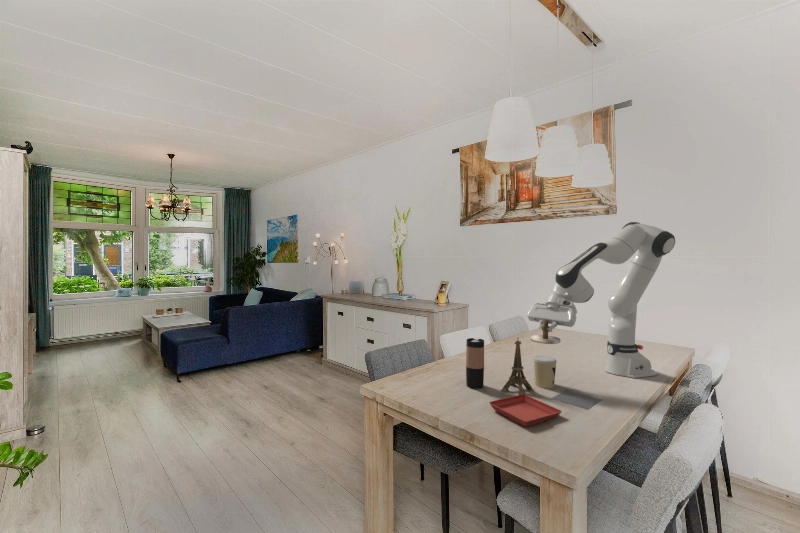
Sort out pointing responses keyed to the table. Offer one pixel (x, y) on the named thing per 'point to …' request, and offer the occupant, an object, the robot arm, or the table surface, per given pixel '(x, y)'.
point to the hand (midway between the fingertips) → (544, 330)
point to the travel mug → (474, 363)
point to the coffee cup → (544, 371)
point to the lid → (545, 336)
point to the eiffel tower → (516, 370)
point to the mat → (577, 399)
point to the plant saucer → (525, 409)
